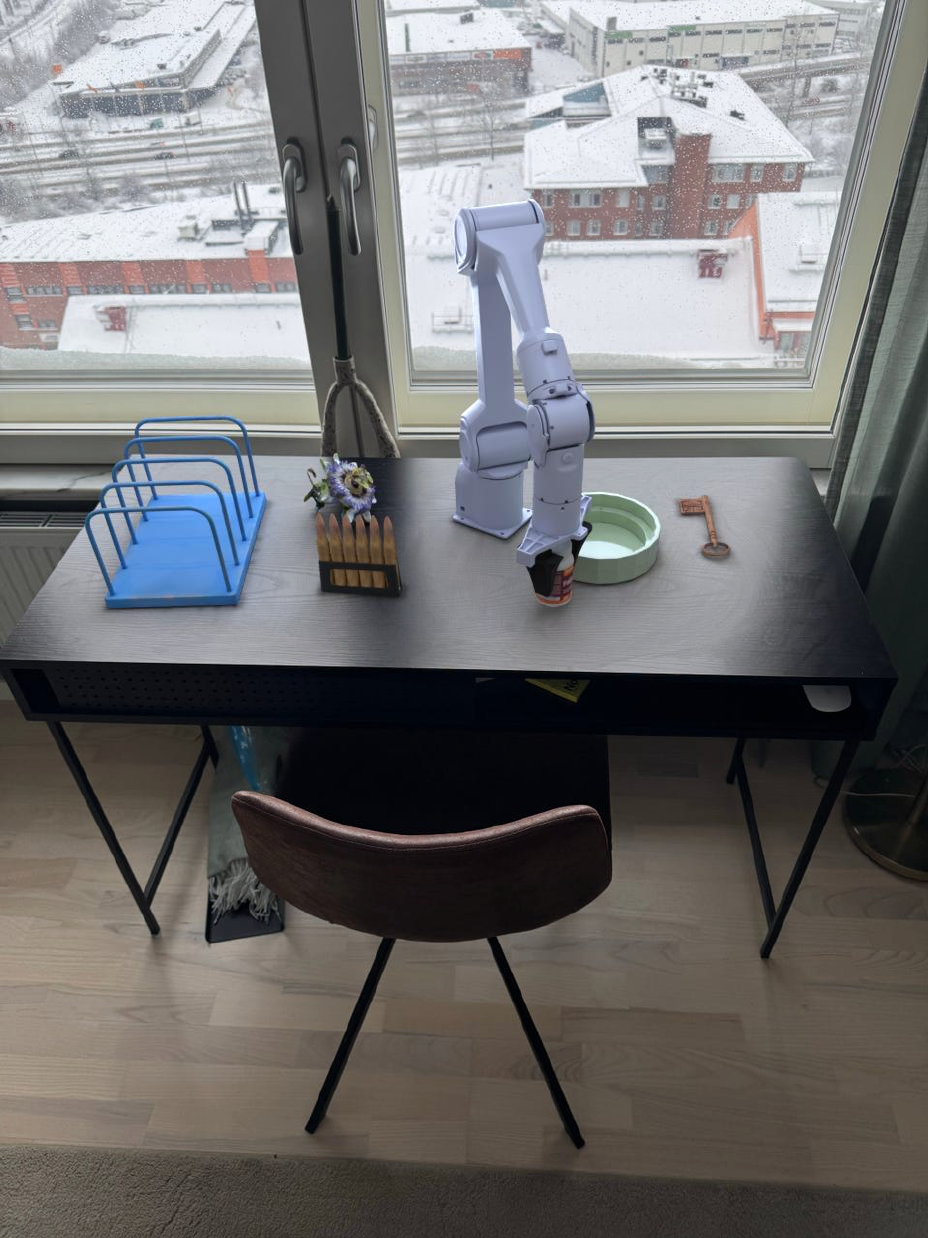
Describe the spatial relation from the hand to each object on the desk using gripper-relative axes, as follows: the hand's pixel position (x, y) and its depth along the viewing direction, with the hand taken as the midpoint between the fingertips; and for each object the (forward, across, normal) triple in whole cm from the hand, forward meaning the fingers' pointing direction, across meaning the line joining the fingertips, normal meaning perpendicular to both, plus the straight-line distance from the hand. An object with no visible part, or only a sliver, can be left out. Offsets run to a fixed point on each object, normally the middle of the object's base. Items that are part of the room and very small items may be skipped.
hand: (553, 582), depth 118 cm
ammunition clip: (+4, -11, +23) cm, 26 cm away
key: (+4, +27, -9) cm, 29 cm away
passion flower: (+4, +1, +37) cm, 37 cm away
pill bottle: (+2, 0, 0) cm, 2 cm away
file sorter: (+4, -18, +49) cm, 52 cm away
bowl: (+4, +14, +1) cm, 15 cm away
